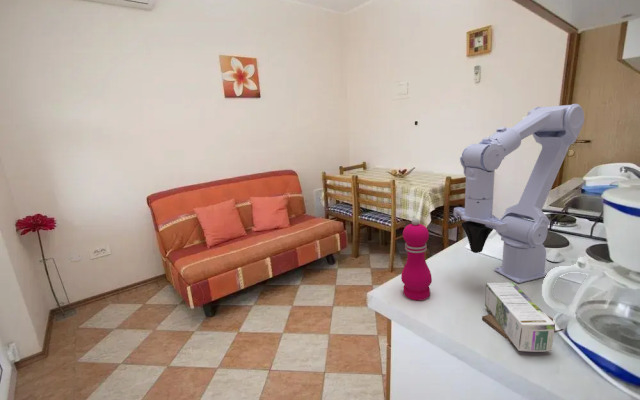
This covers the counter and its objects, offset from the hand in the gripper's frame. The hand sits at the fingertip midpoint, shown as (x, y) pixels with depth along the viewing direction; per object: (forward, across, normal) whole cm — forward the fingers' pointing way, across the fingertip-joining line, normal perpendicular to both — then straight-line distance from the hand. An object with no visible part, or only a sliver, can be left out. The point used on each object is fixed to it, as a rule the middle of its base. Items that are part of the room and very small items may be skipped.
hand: (476, 251), depth 73 cm
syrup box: (+7, +8, -1) cm, 10 cm away
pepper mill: (+11, -4, -14) cm, 18 cm away
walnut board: (+10, +14, -1) cm, 17 cm away
